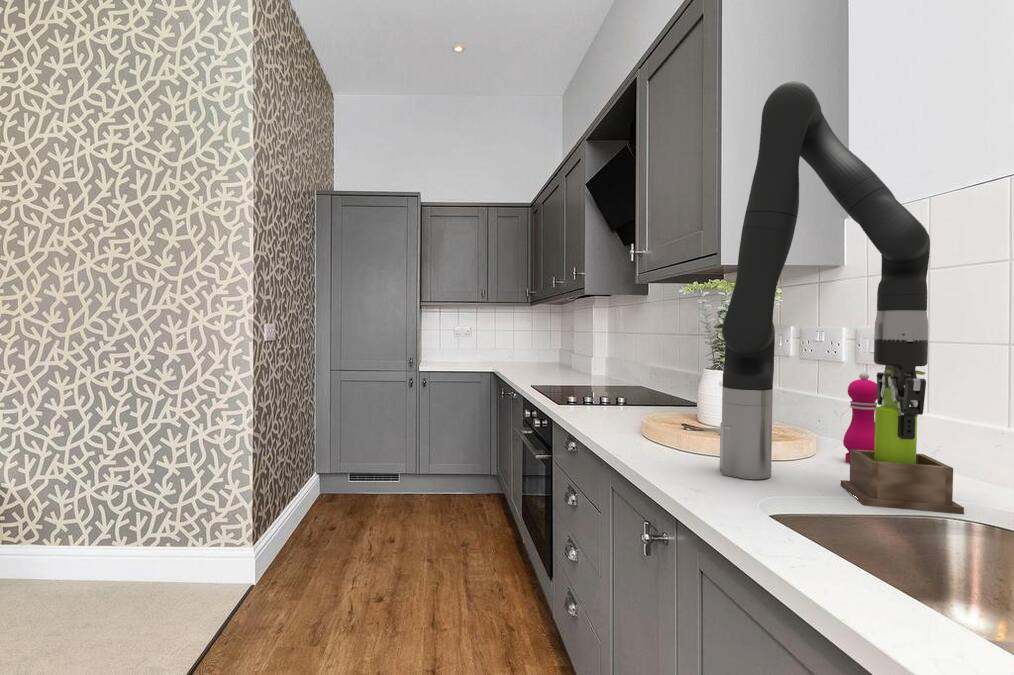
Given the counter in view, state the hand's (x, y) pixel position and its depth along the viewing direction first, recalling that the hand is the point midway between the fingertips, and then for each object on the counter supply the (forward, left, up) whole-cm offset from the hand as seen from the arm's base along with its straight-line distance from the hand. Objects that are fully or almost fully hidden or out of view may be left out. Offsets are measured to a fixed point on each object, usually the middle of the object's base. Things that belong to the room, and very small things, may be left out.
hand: (898, 434), depth 94 cm
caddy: (0, 0, -11) cm, 11 cm away
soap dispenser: (0, 0, -9) cm, 9 cm away
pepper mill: (+3, +27, -11) cm, 29 cm away
